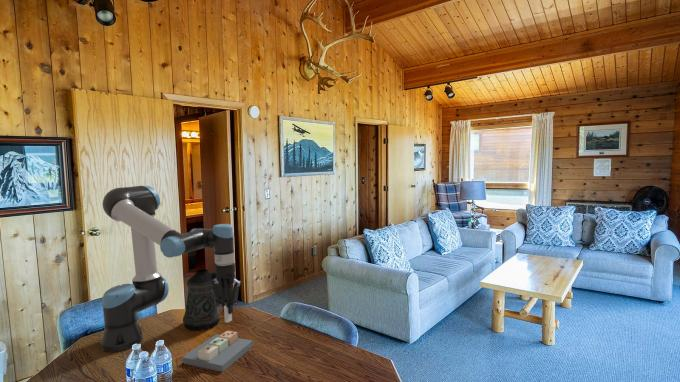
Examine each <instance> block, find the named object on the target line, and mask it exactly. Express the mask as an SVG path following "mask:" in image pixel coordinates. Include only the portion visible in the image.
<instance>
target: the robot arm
mask: <svg viewBox="0 0 680 382" xmlns="http://www.w3.org/2000/svg"><path fill="white" fill-rule="evenodd" d="M160 206H161V197H160V195H159V192H158V191H157V190H156V189H155V188H154V187H152V186H150V185H134V186H125V187H124V186H123V187H116V188H113V189H111V190H109V191H108V192H107V193H106V194H105V195H104V197H103V200H102V210H103V211H104V213H105V214H106V215H107V216H108V217H109V218H111V219H112V220H114V221H115V222H122V223H123V224H125V225H127V226H128V227H130V233H131V243H132V252H133V260H134V270H135V275H134V276H133V278H132V279H131V280H132V283H123V284H118V285H116V286H113V287H111V288H109V289H107V290H106V291H105V292H104V293H103V295H102V311H103V313H102V314H103V323H104V324H103V325H104V331H103V333H102V334H103V335H102V338H101V341H100V349H101V348H102V349H103V350H105V351H104V352H106V351H116V352H121V351H120V350H122V351H125V350H124V349H126V350H128V349H127V348H129V349H131V348H132V347H131V346H132V345H133V344H135V343H139V344H141V342H142V341H143V340H144V334H143V333H144V332H143V331H142V328H141V327H140V325H139V323H138V317H137V316H138V314H137V313H139V312H141V311H144V310H146V309H149V308H151V307H154V306H157V305H158V304H160V303H162V302H163V301H165V299H166V298H167V297H168V294H169V289H170V288H169V286H170V285H169V282H168V281H167V279H166V278H165V277H163V275H162V273H161V272H159V271H158V267H157V256H156V255H157V254H156V247H155V245H156V244H157V245H158V246H159V247H160V252H161V253H162V255H163V256H165V258H168V259H169V258H170V259H171V258H174V257H175V258H176V257H181V256H182V255H185V254H188V253H191V252H195V251H198V250H201V249H204V248H205V249H206V248H207V249H213V251H214V252H213V253H214V264H215V265H214V269H215V270H214V271H215V272H216V274H217V275H216V278H215V279H214V280H212V281H211V283H212V284H213V286H214V291H215V296H216V297H215V298H216V300H217V302H218V304H219V305H221V306H222V313H223V314H224V315H223V316H224V323H230V322H231V321H233V315H232V314H233V313H234V309H233V308H234V307H233V306H234V305H235V304H238V299H239V298H238V297H239V292H240V286H241V284H242V281H241V280H238V279H237V277H236V275H235V272H236V264H235V262H236V259H235V246H234V244H235V243H234V230H233V226H232V224H230V223H219V224H214V225H213V227H212V228H201V227H199V228H192V229H191V230H190V231H188V232H185V233H181V232H178V231H177V230H175V229H173V228H172V227H170V226H169V225H167V224H165V223H163V222H162V221H160V220H159V219H157V218H156V217H155V216H156V210H158V209H159V208H160ZM142 339H143V340H142ZM102 349H101V350H102ZM103 350H102V351H103Z"/></svg>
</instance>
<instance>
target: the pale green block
mask: <svg viewBox="0 0 680 382" xmlns="http://www.w3.org/2000/svg"><path fill="white" fill-rule="evenodd" d="M209 345H212V346H218V353H221V352H223V351H224V350H225V349H227V348H228V339H224V338H219V337H217V338H216V339H214V340H213V341H211V342H210V343H209Z"/></svg>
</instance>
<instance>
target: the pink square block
mask: <svg viewBox="0 0 680 382" xmlns="http://www.w3.org/2000/svg"><path fill="white" fill-rule="evenodd" d="M219 335H220V336H219V338H224V339H228V345H229V346H230V345H232V344H233V343H234V342H236V341H237V340H238V338H239V337H238V332H237V331H232V330H226V331H225V332H223V333H221V334H219Z"/></svg>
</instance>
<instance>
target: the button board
mask: <svg viewBox="0 0 680 382" xmlns="http://www.w3.org/2000/svg"><path fill="white" fill-rule="evenodd" d="M220 335H221V334H217V333H215V334H214V335H212V336H211V337H210V338H208V339H207V340H205V341H204V342H203V343H201V344H199V345H198V346H196V347H195V348H193V349H192V350H191V351H190V352H188V353H186V354H185V355H183V356H182V358H181V359H182V364H183V363H184V365H189V366H193V367H198V368H202V369H207V370H211V371H216V372H220V373H224V371H226V370H227V369H228V368H230V367H231V366H232V365H233V364H234V363H235V362H237V361H238V360H239V359H240V358H242V356H244V355H245V354H246V353H247V352H248V351H249V350H250V349H252V348H253V347H254V341H253V340H252V339H251V340H250V339H245V338H240V337H238V340H237V341H236V342H234V343H233V344H232V345H230V346H229V345H228V348H227V349H225V350H224V351H223V352H221V353H218V356H216V357H215V358H214V359H212V360H211V361H210V362H209V361H204V360H199V359H198V351H199V350H200V349H201V348H203V347H204V346H206V345H209V343H210V342H211V341H213V340H214V339H216V338H217V337H219V336H220Z"/></svg>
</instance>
